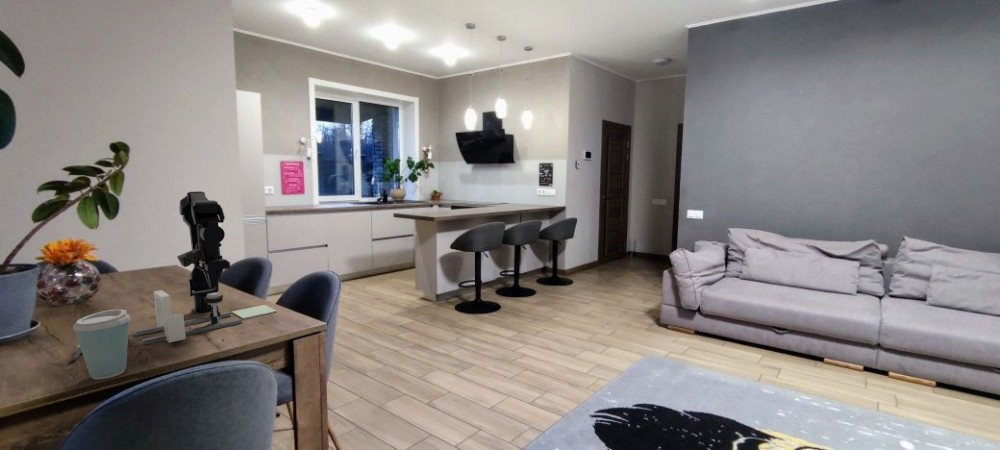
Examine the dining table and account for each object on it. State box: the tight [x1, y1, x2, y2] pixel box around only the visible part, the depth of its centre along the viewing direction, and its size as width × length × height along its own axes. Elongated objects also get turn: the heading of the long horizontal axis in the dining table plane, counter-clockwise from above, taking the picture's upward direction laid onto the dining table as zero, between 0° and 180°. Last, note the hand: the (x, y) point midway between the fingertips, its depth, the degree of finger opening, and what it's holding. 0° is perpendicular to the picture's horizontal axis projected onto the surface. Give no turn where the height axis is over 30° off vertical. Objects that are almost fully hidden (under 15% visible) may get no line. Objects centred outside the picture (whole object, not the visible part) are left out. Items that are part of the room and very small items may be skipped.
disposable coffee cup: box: [72, 309, 131, 380], centre depth 111 cm, size 11×11×15 cm
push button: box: [204, 292, 224, 325], centre depth 150 cm, size 7×5×10 cm
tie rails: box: [134, 311, 243, 346], centre depth 145 cm, size 13×26×1 cm, turn 137°
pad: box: [231, 304, 278, 320], centre depth 162 cm, size 11×11×1 cm
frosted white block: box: [153, 289, 186, 343], centre depth 137 cm, size 20×4×11 cm, turn 47°
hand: (212, 287), depth 149 cm, fingers closed
